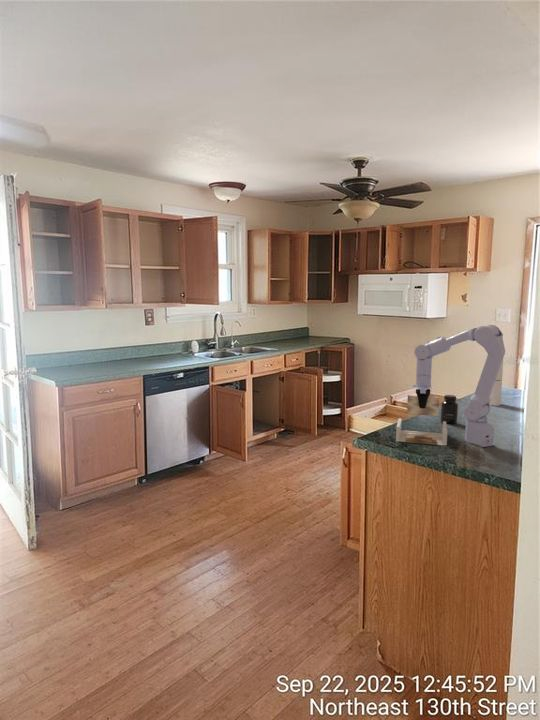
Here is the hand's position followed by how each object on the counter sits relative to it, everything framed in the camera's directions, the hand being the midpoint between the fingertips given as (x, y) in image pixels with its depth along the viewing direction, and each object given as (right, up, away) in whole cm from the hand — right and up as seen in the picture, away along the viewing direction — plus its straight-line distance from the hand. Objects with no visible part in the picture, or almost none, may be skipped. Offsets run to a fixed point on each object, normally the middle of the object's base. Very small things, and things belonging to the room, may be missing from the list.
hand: (422, 407), depth 193 cm
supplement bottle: (+15, -8, +13) cm, 22 cm away
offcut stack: (-5, -11, -15) cm, 19 cm away
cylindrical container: (+50, -3, +47) cm, 69 cm away
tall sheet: (0, -3, 0) cm, 3 cm away
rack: (-4, -11, -9) cm, 15 cm away
